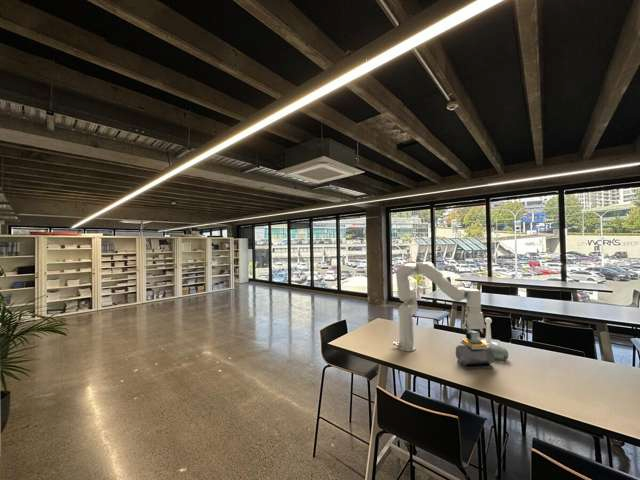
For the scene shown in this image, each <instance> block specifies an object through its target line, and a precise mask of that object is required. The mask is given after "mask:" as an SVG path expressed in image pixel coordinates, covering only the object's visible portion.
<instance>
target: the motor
mask: <svg viewBox="0 0 640 480" xmlns="http://www.w3.org/2000/svg"><path fill="white" fill-rule="evenodd" d="M459 342H460V344H461V345H457V346H456V347H455V355H456V363H457V364H459V365H460V366H461V367H462V368H465V370H467V371H469V370H470V371H471V370H489V369H491V370H493V369H494V366H493V365H492V364H493V363H494V361H495V359H494V353H493V351H492V349H491V348H490V347H489V346H488V345H487V344H486V343H484V342H482V341H480V344H471V343H470V342H469V341H468V339H467V338H462V339H461V340H460V341H459Z"/></svg>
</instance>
